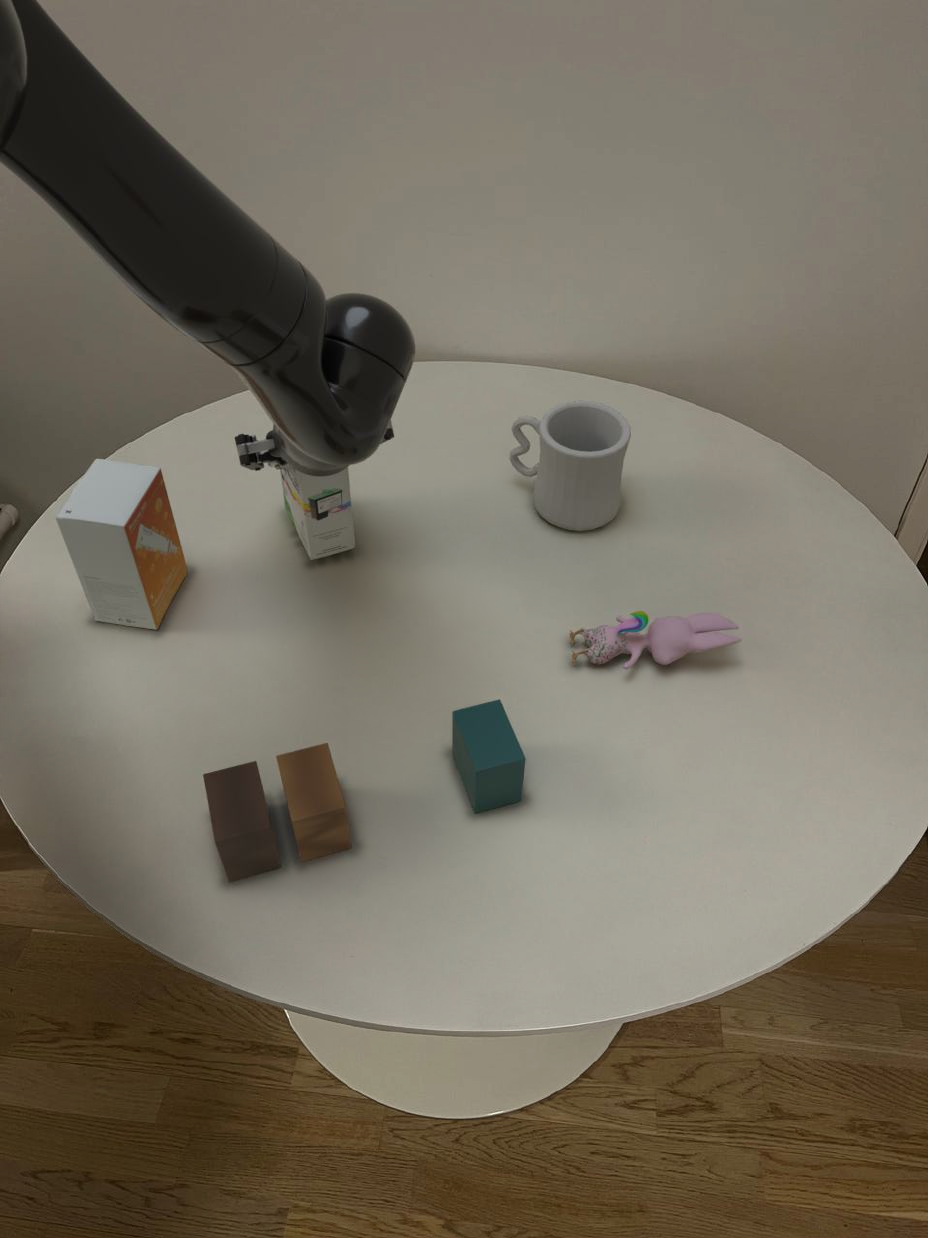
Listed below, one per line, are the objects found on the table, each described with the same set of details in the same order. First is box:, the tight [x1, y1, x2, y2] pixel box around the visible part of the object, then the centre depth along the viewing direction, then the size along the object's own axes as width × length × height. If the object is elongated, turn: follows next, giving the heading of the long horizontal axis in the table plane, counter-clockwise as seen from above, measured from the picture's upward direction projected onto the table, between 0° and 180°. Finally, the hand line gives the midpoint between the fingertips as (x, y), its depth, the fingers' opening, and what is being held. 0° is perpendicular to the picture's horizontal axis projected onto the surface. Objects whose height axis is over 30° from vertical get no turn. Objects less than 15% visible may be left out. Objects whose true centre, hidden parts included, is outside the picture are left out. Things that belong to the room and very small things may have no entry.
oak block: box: [275, 742, 352, 863], centre depth 77 cm, size 4×6×6 cm, turn 18°
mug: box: [508, 400, 632, 532], centre depth 101 cm, size 12×9×10 cm
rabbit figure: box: [569, 610, 743, 670], centre depth 89 cm, size 6×6×15 cm
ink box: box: [272, 422, 356, 561], centre depth 97 cm, size 8×5×12 cm, turn 24°
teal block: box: [451, 698, 526, 814], centre depth 80 cm, size 4×6×6 cm, turn 18°
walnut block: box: [202, 760, 282, 883], centre depth 76 cm, size 4×6×6 cm, turn 18°
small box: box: [55, 458, 189, 630], centre depth 90 cm, size 8×6×13 cm
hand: (307, 452), depth 96 cm, fingers closed on ink box, 5 cm apart
